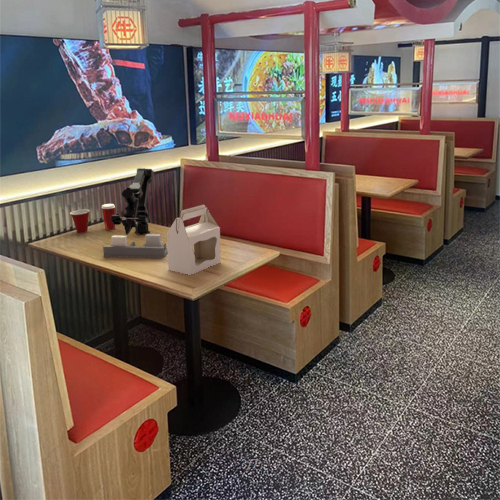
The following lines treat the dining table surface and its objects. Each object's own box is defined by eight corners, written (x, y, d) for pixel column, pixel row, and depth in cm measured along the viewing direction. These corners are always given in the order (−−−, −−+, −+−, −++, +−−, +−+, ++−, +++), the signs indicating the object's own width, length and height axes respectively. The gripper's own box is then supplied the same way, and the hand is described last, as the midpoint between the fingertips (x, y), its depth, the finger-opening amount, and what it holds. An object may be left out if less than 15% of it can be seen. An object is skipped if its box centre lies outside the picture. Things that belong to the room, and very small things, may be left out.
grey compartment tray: (112, 248, 280) (111, 239, 278) (169, 250, 277) (169, 240, 276) (103, 256, 268) (102, 247, 266) (163, 258, 265) (163, 248, 263)
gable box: (189, 276, 241) (186, 214, 233) (167, 270, 249) (164, 210, 240) (221, 262, 258) (219, 204, 250) (200, 257, 266) (198, 201, 257)
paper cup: (119, 227, 320) (117, 204, 315) (112, 230, 313) (110, 207, 308) (107, 226, 322) (105, 203, 318) (100, 229, 315) (98, 206, 311)
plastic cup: (73, 229, 316) (71, 209, 313) (93, 228, 318) (91, 208, 314) (70, 234, 306) (67, 213, 303) (89, 233, 307) (87, 213, 304)
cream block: (114, 250, 273) (113, 235, 271) (128, 250, 273) (127, 235, 270) (112, 252, 270) (111, 237, 268) (126, 253, 269) (125, 237, 267)
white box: (148, 249, 275) (147, 233, 273) (161, 249, 275) (160, 234, 272) (146, 251, 272) (145, 235, 270) (160, 251, 272) (159, 235, 269)
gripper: (152, 216, 294) (148, 242, 287) (118, 215, 296) (113, 241, 289) (147, 205, 284) (143, 232, 277) (112, 205, 286) (107, 231, 279)
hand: (126, 234), depth 281 cm, fingers closed
